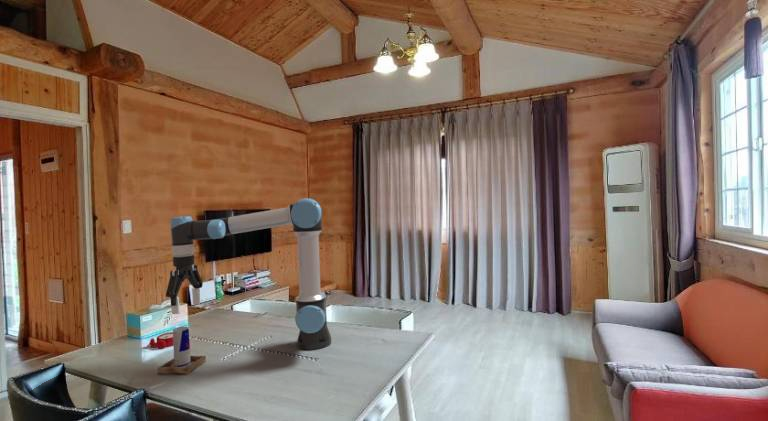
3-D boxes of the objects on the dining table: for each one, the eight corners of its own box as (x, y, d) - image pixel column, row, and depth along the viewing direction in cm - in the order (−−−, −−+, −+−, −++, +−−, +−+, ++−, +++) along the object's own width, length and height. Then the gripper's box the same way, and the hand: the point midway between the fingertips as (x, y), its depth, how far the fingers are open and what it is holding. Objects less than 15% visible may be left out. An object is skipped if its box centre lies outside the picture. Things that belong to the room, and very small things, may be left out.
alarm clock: (187, 333, 182) (158, 336, 168) (185, 346, 180) (156, 351, 167) (172, 330, 186) (143, 333, 172) (170, 344, 185) (140, 348, 171)
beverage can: (183, 369, 146) (181, 330, 146) (171, 368, 147) (169, 330, 147) (193, 363, 152) (191, 326, 151) (181, 363, 153) (179, 325, 153)
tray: (205, 361, 155) (205, 355, 155) (187, 374, 143) (187, 368, 143) (178, 361, 156) (178, 355, 156) (157, 374, 144) (157, 368, 144)
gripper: (193, 251, 163) (196, 301, 164) (152, 260, 138) (156, 318, 139) (209, 251, 163) (212, 300, 163) (172, 259, 138) (175, 318, 138)
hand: (186, 308), depth 151 cm, fingers open, 13 cm apart
